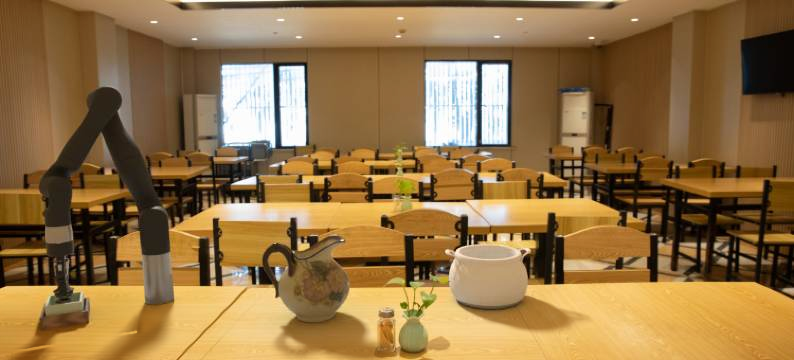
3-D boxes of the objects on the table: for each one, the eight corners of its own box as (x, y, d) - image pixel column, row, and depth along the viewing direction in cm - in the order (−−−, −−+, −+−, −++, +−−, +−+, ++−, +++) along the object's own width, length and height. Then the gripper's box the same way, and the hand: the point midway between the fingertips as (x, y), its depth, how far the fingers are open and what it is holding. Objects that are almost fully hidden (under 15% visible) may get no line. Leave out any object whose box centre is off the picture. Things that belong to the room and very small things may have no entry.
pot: (520, 286, 220) (521, 239, 217) (540, 311, 193) (541, 258, 191) (441, 288, 219) (441, 241, 216) (450, 313, 192) (450, 261, 190)
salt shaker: (79, 298, 193) (76, 261, 191) (65, 304, 187) (62, 266, 186) (63, 297, 194) (60, 261, 193) (49, 303, 188) (46, 265, 187)
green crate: (84, 310, 199) (83, 291, 198) (83, 321, 188) (81, 301, 187) (50, 315, 195) (48, 295, 194) (46, 327, 184) (44, 306, 183)
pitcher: (365, 313, 193) (362, 237, 190) (307, 335, 176) (302, 252, 173) (320, 299, 208) (316, 228, 205) (262, 319, 191) (258, 241, 188)
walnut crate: (90, 310, 201) (89, 297, 200) (89, 324, 187) (87, 311, 187) (45, 316, 195) (44, 303, 195) (40, 332, 182) (39, 318, 181)
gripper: (47, 236, 193) (52, 287, 195) (43, 245, 180) (48, 300, 182) (74, 233, 196) (78, 283, 198) (71, 242, 183) (76, 296, 185)
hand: (63, 291), depth 190 cm, fingers closed on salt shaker, 6 cm apart
